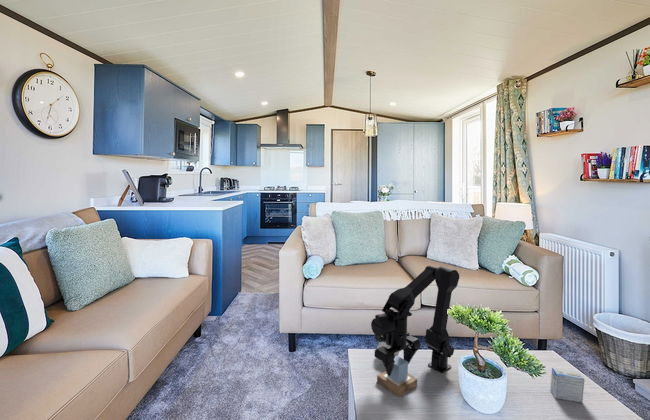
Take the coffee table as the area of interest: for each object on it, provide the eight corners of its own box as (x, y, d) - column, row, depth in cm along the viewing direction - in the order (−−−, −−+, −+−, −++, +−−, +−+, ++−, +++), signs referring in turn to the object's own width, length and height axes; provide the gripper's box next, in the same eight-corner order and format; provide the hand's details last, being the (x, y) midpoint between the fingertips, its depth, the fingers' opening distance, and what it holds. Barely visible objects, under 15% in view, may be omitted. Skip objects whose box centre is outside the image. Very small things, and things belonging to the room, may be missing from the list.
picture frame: (395, 372, 120) (395, 365, 120) (417, 385, 112) (417, 378, 112) (377, 381, 114) (377, 375, 114) (398, 396, 106) (399, 389, 106)
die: (394, 369, 123) (406, 345, 126) (374, 356, 125) (386, 333, 127) (389, 364, 132) (401, 342, 134) (371, 352, 133) (382, 331, 135)
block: (396, 371, 117) (397, 355, 116) (407, 377, 113) (408, 361, 112) (387, 376, 114) (387, 360, 113) (398, 383, 110) (398, 366, 109)
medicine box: (576, 395, 108) (578, 371, 107) (582, 403, 104) (585, 378, 103) (549, 390, 110) (551, 367, 110) (555, 398, 106) (556, 374, 105)
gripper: (398, 314, 124) (396, 352, 125) (363, 327, 112) (362, 369, 114) (422, 325, 115) (420, 365, 116) (387, 340, 103) (386, 385, 105)
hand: (397, 370), depth 113 cm, fingers open, 9 cm apart
